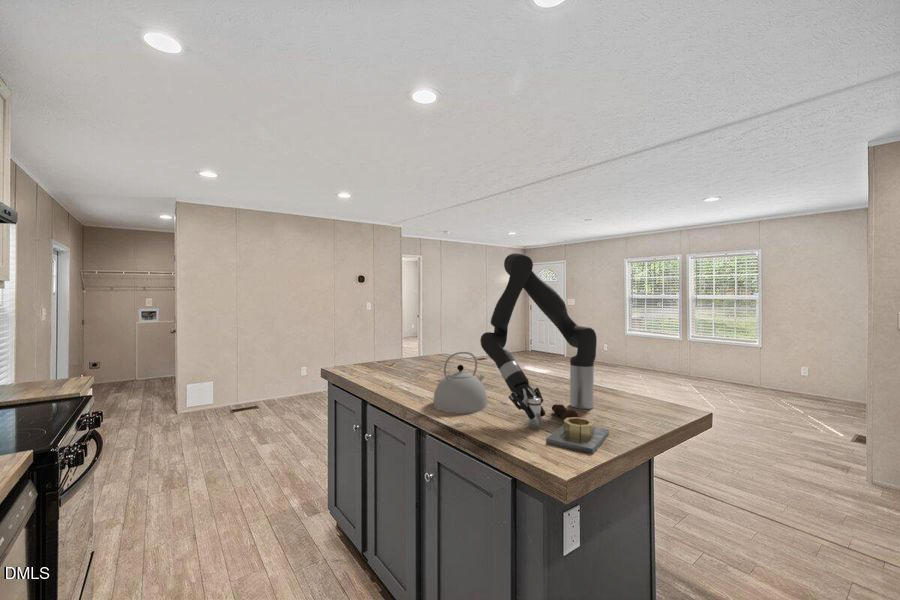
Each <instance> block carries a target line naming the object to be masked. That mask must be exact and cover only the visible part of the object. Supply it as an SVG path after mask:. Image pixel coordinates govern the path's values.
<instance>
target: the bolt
mask: <svg viewBox="0 0 900 600" xmlns="http://www.w3.org/2000/svg"><path fill="white" fill-rule="evenodd" d="M551 411H552V413H554V415H555V416H556V417H557V418H562V419H563V421H564V420H565V419H566V418H571V417H579V418H580V416H579V414H578V413H577V411H576V410H575V409H571V410H570V409H569V410H567V409H566V407H565V406H564V404H553V405H552V406H551Z"/></svg>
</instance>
